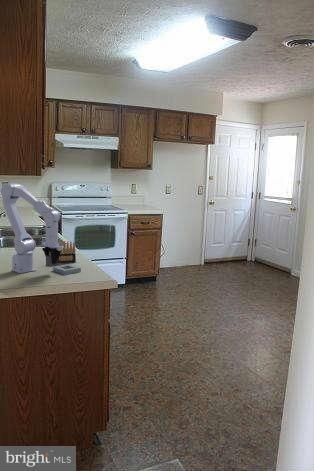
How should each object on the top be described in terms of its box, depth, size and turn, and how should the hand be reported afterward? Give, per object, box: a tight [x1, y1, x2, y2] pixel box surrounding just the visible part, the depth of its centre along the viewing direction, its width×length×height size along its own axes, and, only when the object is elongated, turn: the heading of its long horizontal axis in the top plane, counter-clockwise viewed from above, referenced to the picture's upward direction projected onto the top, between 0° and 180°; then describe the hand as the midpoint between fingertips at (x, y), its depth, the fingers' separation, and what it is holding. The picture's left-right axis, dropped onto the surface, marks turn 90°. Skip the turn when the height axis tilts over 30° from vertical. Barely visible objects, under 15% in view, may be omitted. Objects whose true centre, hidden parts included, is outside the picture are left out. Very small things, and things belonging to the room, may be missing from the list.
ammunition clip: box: [58, 240, 77, 264], centre depth 227 cm, size 11×2×12 cm, turn 113°
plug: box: [45, 251, 59, 268], centre depth 201 cm, size 4×4×7 cm
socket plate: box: [52, 263, 82, 276], centre depth 209 cm, size 10×10×2 cm
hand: (51, 262), depth 202 cm, fingers closed on plug, 4 cm apart
